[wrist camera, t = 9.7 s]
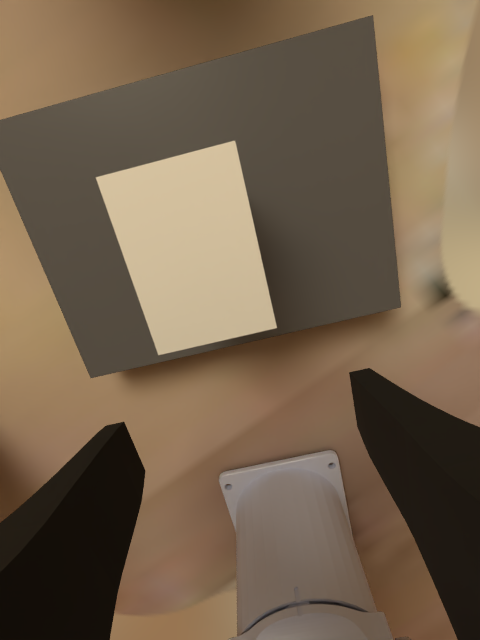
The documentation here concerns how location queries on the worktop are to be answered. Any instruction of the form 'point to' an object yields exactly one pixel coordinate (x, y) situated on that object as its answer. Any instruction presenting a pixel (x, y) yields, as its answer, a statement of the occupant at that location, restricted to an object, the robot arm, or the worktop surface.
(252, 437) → the worktop surface
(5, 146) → the socket block
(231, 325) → the plug
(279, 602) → the robot arm
